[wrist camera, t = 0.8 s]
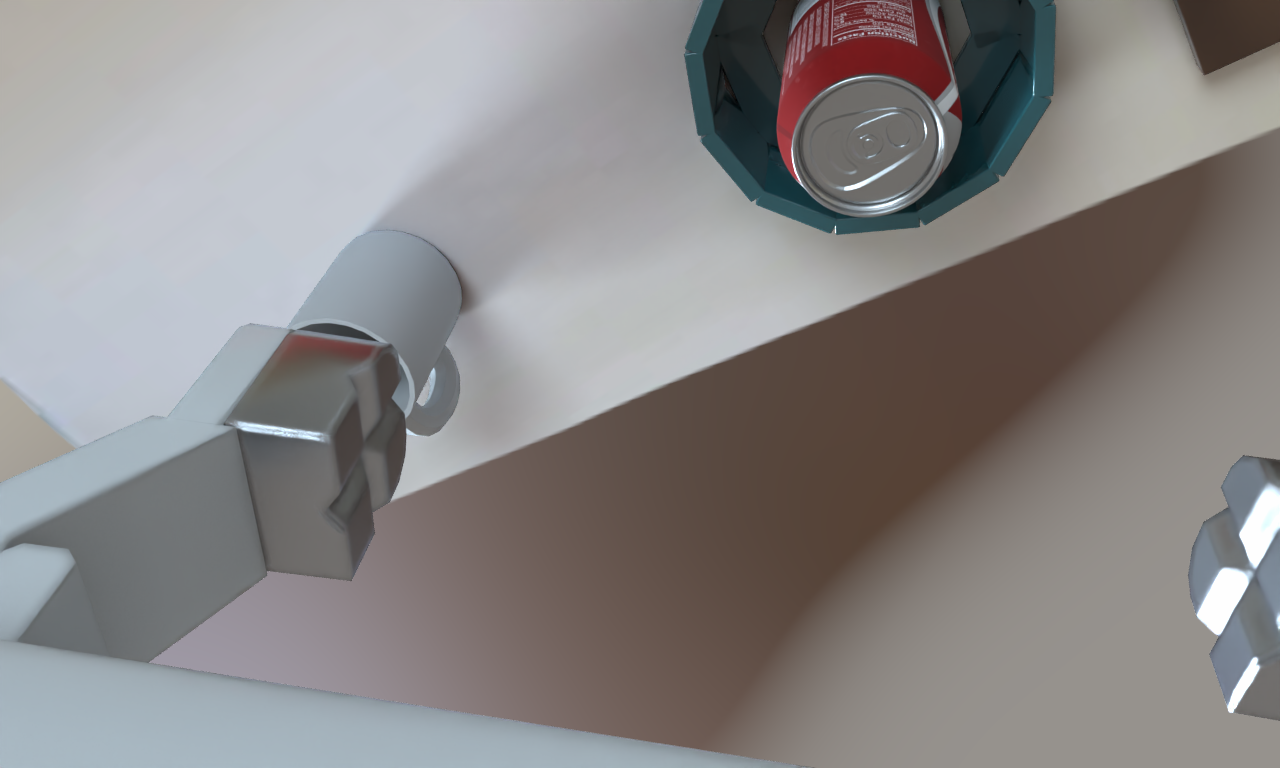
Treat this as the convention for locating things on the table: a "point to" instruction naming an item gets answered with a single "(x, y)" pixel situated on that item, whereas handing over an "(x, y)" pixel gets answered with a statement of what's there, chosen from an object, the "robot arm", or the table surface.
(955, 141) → the soda can
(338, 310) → the cup
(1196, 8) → the serving board
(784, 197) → the bowl
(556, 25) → the table surface
